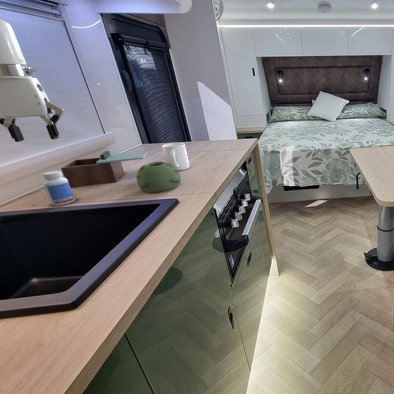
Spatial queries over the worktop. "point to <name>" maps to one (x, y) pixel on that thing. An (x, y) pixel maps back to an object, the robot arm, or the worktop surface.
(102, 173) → the box
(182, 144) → the mug
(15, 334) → the worktop surface
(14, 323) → the worktop surface
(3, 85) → the robot arm
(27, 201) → the worktop surface
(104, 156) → the sliding box lid
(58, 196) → the pill bottle
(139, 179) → the green planter pot
